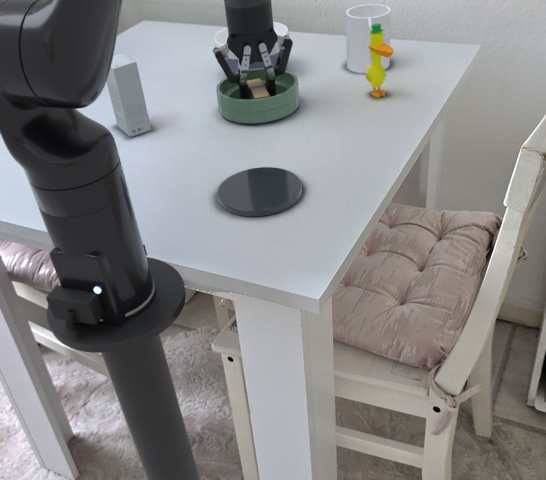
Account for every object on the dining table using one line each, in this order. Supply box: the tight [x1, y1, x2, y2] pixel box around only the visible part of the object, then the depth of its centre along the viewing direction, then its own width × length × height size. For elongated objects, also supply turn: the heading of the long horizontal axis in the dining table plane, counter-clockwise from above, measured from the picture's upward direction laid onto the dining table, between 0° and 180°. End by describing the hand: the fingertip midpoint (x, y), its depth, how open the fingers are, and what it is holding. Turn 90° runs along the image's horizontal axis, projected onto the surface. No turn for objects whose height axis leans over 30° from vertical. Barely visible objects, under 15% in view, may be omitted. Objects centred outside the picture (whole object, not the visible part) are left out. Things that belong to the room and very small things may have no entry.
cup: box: [345, 3, 392, 74], centre depth 123 cm, size 8×12×10 cm
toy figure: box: [365, 24, 394, 99], centre depth 113 cm, size 7×4×12 cm, turn 30°
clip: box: [247, 78, 270, 100], centre depth 116 cm, size 8×3×3 cm, turn 13°
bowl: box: [213, 21, 290, 73], centre depth 128 cm, size 14×14×8 cm
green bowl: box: [215, 68, 301, 124], centre depth 116 cm, size 14×14×4 cm
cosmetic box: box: [106, 53, 152, 138], centre depth 112 cm, size 6×4×12 cm
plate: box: [217, 166, 303, 218], centre depth 95 cm, size 12×12×1 cm
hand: (258, 100), depth 117 cm, fingers open, 3 cm apart
